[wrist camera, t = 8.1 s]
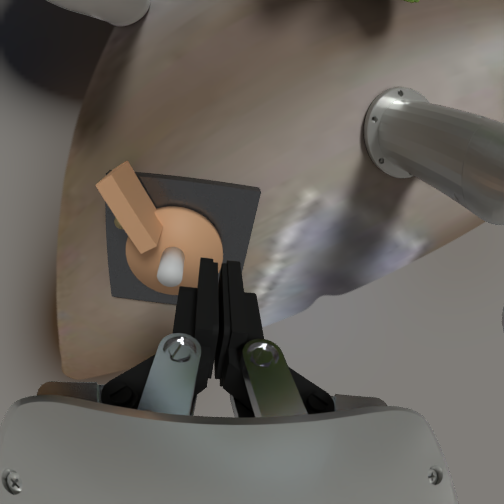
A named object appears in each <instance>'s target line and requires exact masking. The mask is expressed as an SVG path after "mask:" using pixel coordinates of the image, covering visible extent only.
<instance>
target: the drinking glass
mask: <svg viewBox="0 0 504 504" xmlns="http://www.w3.org/2000/svg"><path fill="white" fill-rule="evenodd" d="M47 1H49V2H51V3H53V4H55V5H57V6H60V7H62V8H65V9H68V10H71V11H74V12H78V13H82V14H85V15H88V16H92V17H95V18H98V19H101V20H104V21H106V22H108V23H110V24H112V25H115V26H127V25H130V24H133V23H135V22H137V21H138V20H140V19H141V18H142V17H143V16H144V15H145V14H146V12H147V11H148V9H149V7H150V3H151V0H47Z"/></svg>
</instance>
